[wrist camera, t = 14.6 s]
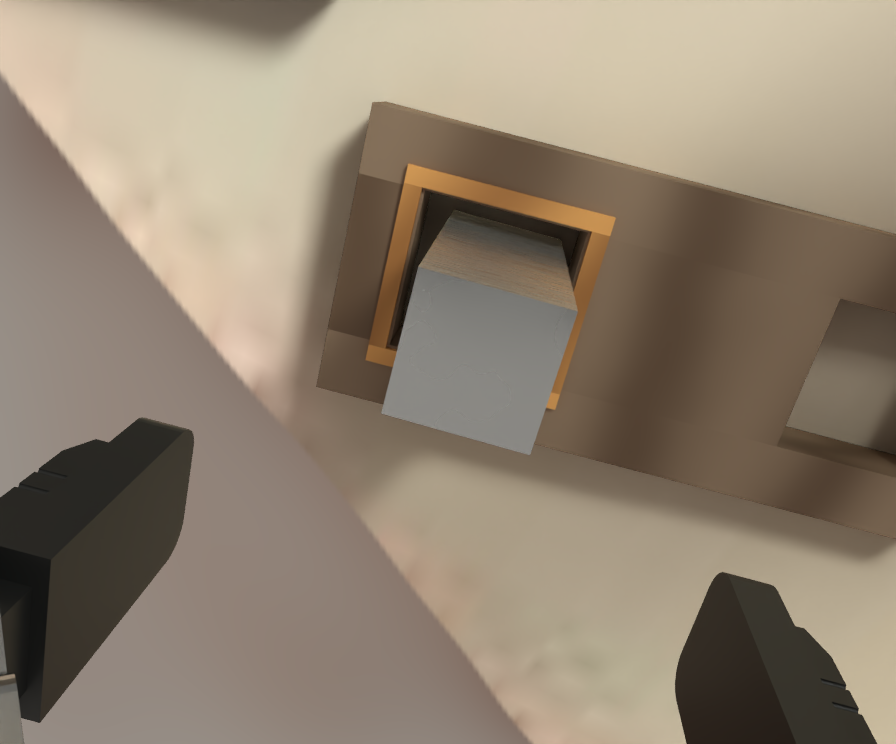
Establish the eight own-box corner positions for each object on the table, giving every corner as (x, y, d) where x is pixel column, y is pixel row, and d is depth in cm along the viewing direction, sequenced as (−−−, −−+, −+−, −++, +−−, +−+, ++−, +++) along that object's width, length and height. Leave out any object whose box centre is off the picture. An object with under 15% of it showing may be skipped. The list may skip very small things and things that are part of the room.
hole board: (1057, 276, 27) (1112, 295, 25) (928, 520, 31) (965, 559, 28) (385, 101, 27) (371, 102, 25) (332, 364, 31) (315, 388, 28)
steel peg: (560, 239, 28) (577, 311, 19) (528, 341, 30) (529, 455, 20) (454, 209, 28) (418, 266, 19) (427, 312, 30) (381, 413, 20)
